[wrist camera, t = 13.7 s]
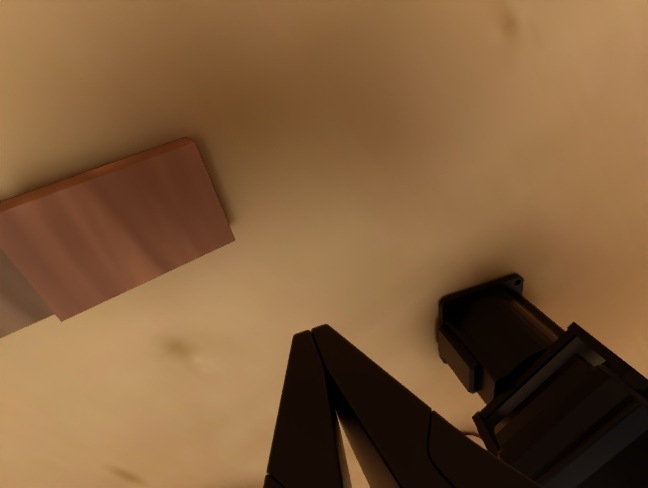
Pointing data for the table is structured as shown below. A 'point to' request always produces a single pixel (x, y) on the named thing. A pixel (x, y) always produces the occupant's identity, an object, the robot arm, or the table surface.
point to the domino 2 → (114, 227)
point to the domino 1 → (18, 299)
